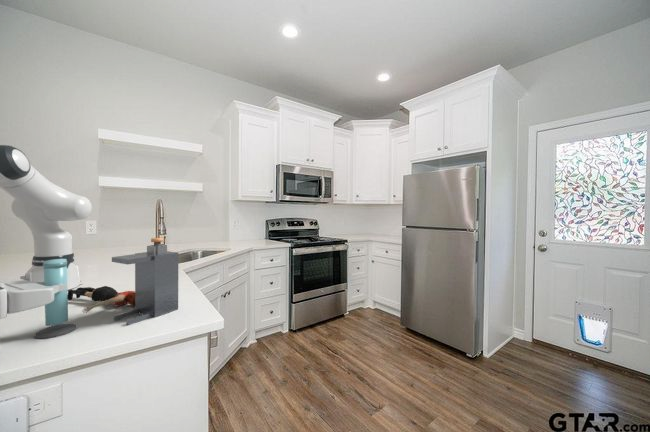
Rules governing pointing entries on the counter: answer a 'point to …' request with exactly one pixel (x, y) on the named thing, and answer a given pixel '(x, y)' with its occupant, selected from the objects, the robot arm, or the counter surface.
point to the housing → (152, 283)
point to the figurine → (103, 296)
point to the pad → (55, 331)
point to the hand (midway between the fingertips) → (60, 285)
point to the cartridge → (59, 307)
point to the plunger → (157, 241)
